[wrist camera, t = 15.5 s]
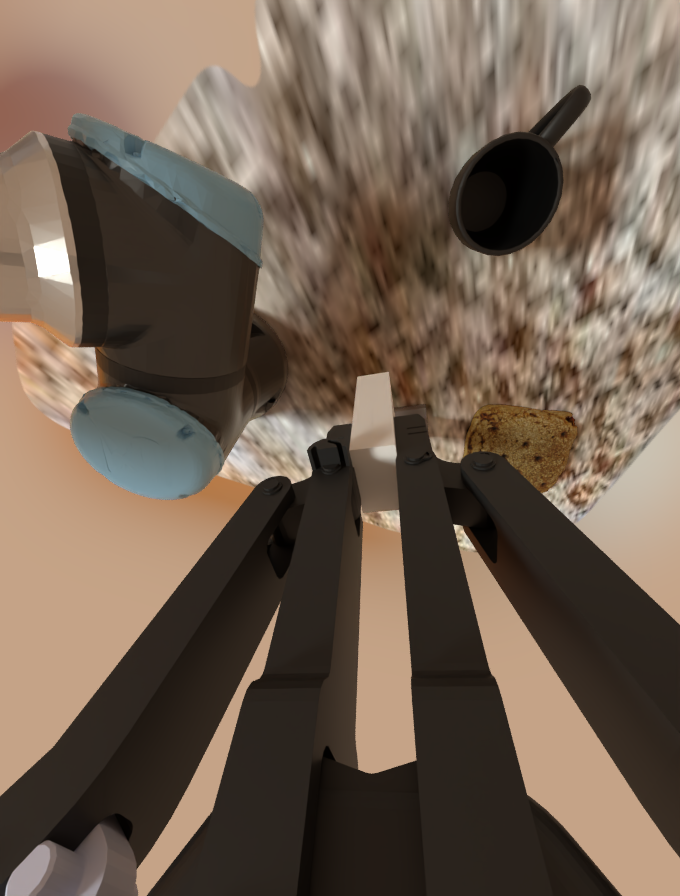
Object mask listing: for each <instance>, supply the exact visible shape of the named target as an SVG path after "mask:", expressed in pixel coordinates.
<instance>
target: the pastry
mask: <svg viewBox="0 0 680 896" xmlns="http://www.w3.org/2000/svg"><path fill="white" fill-rule="evenodd" d="M571 416H572V414H571V413H569V412H564V411H553V410H551V411H548V410H542V411H540V410H536V409H531V408H524V407H518V406H510V405H486V406H483V407H482V408H481V409H479V410H478V411H477V412H476V414H475V415H474V417H473V420H472V422H471V426H470V428H469V430H468V432H467V435H466V440H465V448H464V456H463V458H464V457H465V456H466V455H468V454H470V453H473V452H479V451H487V452H493V453H496V454H499V455H500V456H502V457H503V458H505V459H506V460H507V461H508V462H509V463H510V464H511V465H512V466H513V467H514V468H515V469H516V470H517V471H518V472H519V473H520V474H522V475H523V476H524V477H525V478H526V479H527V480H528V481H529V482H530V483H531V484H532V485H533V486H534V487H535V488H536V489H537V490H538V491H539V492H540V493H543V492H546V491H548V490H549V488H551V487H552V486H553V485H554V484H555V483H556V481H557V479H558V477H559V475H561V473H562V472H563V471H564V469H565V467H566V464H567V460H568V457H569V453H570V449H571V446H572V444H573V441H574V439H575V438H576V436H577V426H575V423H574V421H575V419H574V418H573V416H572V417H571ZM569 417H570V418H569Z"/></svg>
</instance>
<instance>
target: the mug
mask: <svg viewBox="0 0 680 896" xmlns="http://www.w3.org/2000/svg"><path fill="white" fill-rule="evenodd" d="M590 100H591V94H590V92H589V90H588V89H587V88H586V87H585V86H583V85H579V86H577V87H575V88H574V89H572V90H571V91H570V92H569V93H568V94H567V95H566V96H564V97H563V98H562V99H561V100H560V101H559V102H558V103H557V104H556V105H555V106H554V107H553V108H552V109H551V110H550V111H549V112H548V113H547V114H546V115H545V116H544V117H543V118H542V119H541V120H540V121H539V122H538V123H537V124H536V125H535V126H534V127H533V128H532V129H531V130H530V131H529V132H515V133H510V134H505V135H503V136H501V137H499V138H497V139H495V140H493V141H491V142H490V143H488V144H487V145H485V146H484V147H483V148H481V149H480V150H479V151H478V152H476V153H475V154H474V155H472V157H471V158H470V159H469V160H468V161H467V162H466V163H465V165H464V166H463V167H462V169H461V171H460V172H459V174H458V176H457V177H456V179H455V181H454V184H453V187H452V189H451V192H450V198H449V203H448V208H449V219H450V224H451V227H452V229H453V231H454V233H455V235H456V236H457V237H458V238H459V240H460V241H461V242H462V243H463V244H464V245H466V246H467V247H468V248H470V249H472V250H475V251H477V252H480V253H483V254H486V255H494V256H500V255H506V254H511V253H513V252H516V251H518V250H521V249H522V248H524V247H526V246H527V245H529V244H530V243H532V242H533V241H534V240H535V239H536V238H537V237H538V236H539V235H540V234H541V233H542V232H543V231H544V229H545V228H546V227H547V225H548V224H549V223H550V222H551V220H552V218H553V216H554V214H555V212H556V210H557V208H558V205H559V201H560V198H561V195H562V188H563V170H562V165H561V162H560V159H559V156H558V154H557V152H556V151H555V149H554V148H553V147H554V145H555V144H556V143H557V142H558V141H559V140H560V139H561V137H562V136H563V135H564V134H565V133H566V132H567V130H568V129H569V128H570V127H571V126H572V124H573V123H574V122H575V121H576V120H577V118H578V117H579V116H580V115H581V113H582V112H583V111H584V110H585V108H586V107H587V105H588V104H589V102H590Z"/></svg>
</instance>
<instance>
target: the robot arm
mask: <svg viewBox="0 0 680 896" xmlns="http://www.w3.org/2000/svg"><path fill="white" fill-rule="evenodd" d="M68 134H69V136H70V137H71V139H73V140H72V141H67V140H64V139H60V138H57V137H53V136H50V135H46V134H43V133H40V132H36V131H31V132H29V133H28V134H27V135H25V136H24V137H23V138H22V139H20V140H19V141H18V142H17V143H15V144H14V145H13V146H12V147H10V148H9V149H8V150H6V151H5V152H2V153H0V322H31V323H33V324H36V325H38V326H41V327H43V328H44V329H46V330H47V331H48V332H50V333H51V334H52V335H54V336H55V337H57V338H58V339H59V340H61V341H62V342H63V343H65V344H66V345H68V346H69V347H95V353H96V363H97V373H98V387H97V388H96V389H94V390H91V391H89V392H87V393H85V394H84V395H83V397H82V398H81V399H80V401H79V403H78V404H77V405H76V406H75V408H74V409H73V411H72V414H71V419H70V430H71V435H72V438H73V440H74V443H75V445H76V447H77V449H78V450H79V452H80V453H81V455H82V456H83V457H84V459H85V460H86V461H87V462H88V463H89V464H90V465H91V466H92V467H93V468H94V469H95V470H96V471H97V472H99V473H101V474H102V475H104V476H105V477H106V478H107V479H108V480H109V481H111V482H112V483H114V484H115V485H117V486H119V487H121V488H123V489H125V490H127V491H130V492H132V493H135V494H138V495H141V496H144V497H148V498H153V499H160V500H176V499H183V498H186V497H188V496H190V495H193V494H197V493H199V492H200V491H202V490H203V489H204V488H205V487H206V486H207V485H208V484H209V483H210V481H211V480H212V479H213V478H214V477H215V476H216V475H217V474H218V473H219V472H220V471H221V470H222V466H223V465H224V461H225V460H226V458H227V456H228V455H229V453H230V452H231V450H232V448H233V447H234V445H235V443H236V442H237V440H238V438H239V437H240V435H241V433H242V432H243V430H244V428H245V427H246V425H247V424H248V422H249V421H251V420H253V419H255V418H258V417H260V416H262V415H263V414H265V413H266V412H267V411H269V410H270V409H271V408H272V407H273V406H274V405H275V404H276V402H277V401H278V399H279V397H280V396H281V394H282V392H283V390H284V388H285V385H286V381H287V376H288V363H287V357H286V353H285V350H284V348H283V345H282V343H281V341H280V339H279V338H278V336H277V335H276V333H275V332H274V331H273V329H272V328H271V327H270V326H269V325H268V324H267V323H266V322H265V321H264V320H263V319H261V318H260V317H259V316H257V315H256V314H254V313H253V312H254V304H255V297H256V289H257V281H258V274H259V268H262V260H261V258H260V256H261V245H262V234H263V213H262V209H261V206H260V204H259V202H258V201H257V199H256V198H255V196H254V195H253V194H252V193H251V192H250V191H249V190H247V189H246V188H244V187H243V186H241V185H239V184H237V183H235V182H234V181H232V180H230V179H228V178H226V177H224V176H222V175H220V174H218V173H216V172H214V171H212V170H210V169H208V168H206V167H204V166H202V165H200V164H198V163H196V162H194V161H192V160H189V159H187V158H185V157H183V156H181V155H179V154H176V153H174V152H172V151H170V150H168V149H166V148H163V147H161V146H159V145H156V144H154V143H152V142H150V141H146V140H143V139H141V138H140V137H138V136H135V135H133V134H131V133H128V132H125V131H123V130H122V129H119V128H118V127H116V126H113V125H111V124H109V123H106V122H104V121H102V120H99V119H97V118H94V117H91V116H89V115H86V114H79V113H77V114H75V115H73V117H72V122H71V125H70V126H69V127H68ZM307 453H308V456H309V459H310V463H311V466H312V470H313V472H312V476H311V477H310V478H308V479H306V480H303V481H300V482H297V483H294V484H291V481H290V479H288V478H287V477H284V476H275V477H271V478H268V479H266V480H264V481H262V482H260V483H259V484H258V485H257V486H256V487H255V488H254V490H253V491H252V492H251V494H250V495H249V496H248V497H247V499H246V500H245V501H244V503H243V504H242V505H241V506H240V508H239V509H238V510H237V512H236V513H235V514H234V516H233V517H232V518H231V520H230V521H229V522H228V523H227V524H226V526H225V527H224V528H223V530H222V531H221V532H220V533H219V535H218V536H217V538H216V539H215V540H214V541H213V542H212V544H211V545H210V546H209V548H208V549H207V550H206V551H205V553H204V554H203V555H202V557H201V558H200V559H199V560H198V562H197V563H196V564H195V566H194V567H193V568H192V569H191V571H190V572H189V573H188V575H187V576H186V577H185V578H184V580H183V581H182V582H181V584H180V585H179V586H178V587H177V589H176V590H175V591H174V593H173V594H172V595H171V596H170V598H169V599H168V600H167V602H166V603H165V604H164V605H163V607H162V608H161V609H160V611H159V612H158V613H157V615H156V616H155V617H154V618H153V620H152V621H151V622H150V623H149V625H148V626H147V627H146V629H145V630H144V631H143V632H142V634H141V635H140V636H139V638H138V639H137V640H136V641H135V643H134V644H133V645H132V647H131V648H130V649H129V650H128V652H127V653H126V654H125V656H124V657H123V658H122V659H121V661H120V662H119V663H118V665H117V666H116V667H115V669H114V670H113V671H112V672H111V674H110V675H109V676H108V677H107V679H106V680H105V681H104V683H103V684H102V685H101V686H100V688H99V689H98V690H97V692H96V693H95V694H94V695H93V697H92V698H91V699H90V701H89V702H88V703H87V705H86V706H85V707H84V708H83V710H82V711H81V712H80V713H79V715H78V716H77V717H76V719H75V720H74V721H73V722H72V724H71V725H70V726H69V728H68V729H67V730H66V732H65V733H64V734H63V735H62V737H61V738H60V739H59V740H58V742H57V743H56V744H55V746H54V747H53V748H52V749H51V750H50V751H49V752H47V753H46V754H45V755H44V756H43V757H42V758H41V759H40V760H39V761H38V762H37V763H36V764H35V765H33V767H31V768H30V769H29V770H28V771H27V772H26V773H25V774H24V775H23V776H22V777H21V778H19V779H18V780H17V781H16V782H15V783H14V784H13V785H12V786H11V787H10V788H9V789H8V790H7V791H5V792H4V793H3V794H2V795H1V796H0V896H138V890H137V885H136V884H135V882H136V870H137V868H138V867H139V865H140V864H141V863H142V861H143V860H144V858H145V857H146V856H147V854H148V853H149V852H150V850H151V849H152V847H153V846H154V844H155V842H156V841H157V839H158V838H159V836H160V834H161V833H162V831H163V830H164V828H165V827H166V825H167V824H168V822H169V820H170V819H171V817H172V815H173V813H174V811H175V809H176V808H177V806H178V804H179V802H180V800H181V799H182V797H183V795H184V793H185V791H186V789H187V788H188V785H189V784H190V782H191V780H192V778H193V776H194V774H195V772H196V769H197V768H198V766H199V763H200V762H201V760H202V758H203V755H204V754H205V752H206V750H207V748H208V746H209V744H210V742H211V739H212V738H213V736H214V734H215V732H216V729H217V727H218V726H219V723H220V722H221V719H222V718H223V715H224V714H225V712H226V710H227V708H228V705H229V703H230V701H231V699H232V698H233V695H234V694H235V692H236V690H237V688H238V685H239V684H240V682H241V680H242V677H243V675H244V673H245V672H246V669H247V667H248V666H249V663H250V662H251V659H252V657H253V655H254V653H255V651H256V649H257V647H258V645H259V643H260V641H261V639H262V637H263V635H264V633H265V631H266V629H267V627H268V625H269V623H270V621H271V619H272V617H273V615H274V613H275V611H276V609H277V607H278V605H279V603H280V601H281V603H280V607H279V612H278V616H277V620H276V624H275V628H274V632H273V636H272V640H271V645H270V649H269V653H268V657H267V661H266V665H265V669H264V672H263V674H262V676H261V678H260V679H258V680H255V681H253V682H252V683H251V684H250V686H249V687H248V689H247V691H246V694H245V696H244V699H243V702H242V706H241V709H240V713H239V717H238V720H237V724H236V727H235V732H234V735H233V739H232V742H231V746H230V750H229V753H228V757H227V761H226V765H225V768H224V772H223V775H222V779H221V783H220V786H219V790H218V794H217V798H216V801H215V805H214V808H213V811H212V813H211V814H210V816H208V818H207V819H206V820H205V822H204V823H203V824H202V825H201V827H200V828H199V829H198V831H197V832H196V833H195V834H194V836H193V837H192V838H191V839H190V841H189V842H188V843H187V845H186V846H185V847H184V849H183V850H182V851H181V852H180V854H179V855H178V856H177V857H176V859H175V860H174V861H173V863H172V864H171V865H170V866H169V868H168V869H167V870H166V872H165V873H164V875H162V877H161V878H160V879H159V881H158V882H157V883H156V884H155V886H154V887H153V888H152V890H151V891H150V892H149V893H148V895H147V896H622V895H621V894H620V893H619V892H618V891H617V889H616V888H615V887H614V886H613V885H612V884H611V882H610V881H609V880H608V879H607V878H606V876H605V875H604V874H603V873H602V872H601V870H600V869H599V868H598V867H597V866H596V865H595V863H594V862H593V861H592V860H591V859H590V857H589V856H588V855H587V854H586V853H585V852H584V850H583V849H582V848H581V847H580V846H579V844H578V843H577V842H576V841H575V840H574V838H573V837H572V836H571V835H570V834H569V833H568V832H567V830H566V829H565V828H564V827H563V826H562V825H561V824H560V823H559V822H558V821H557V820H556V819H555V818H554V817H553V816H552V815H551V814H550V813H549V812H548V811H547V810H546V809H544V808H543V807H542V806H541V805H540V804H538V803H537V802H536V801H535V800H533V799H532V798H531V797H530V796H528V795H527V793H526V789H525V785H524V781H523V777H522V774H521V770H520V766H519V762H518V758H517V755H516V751H515V747H514V743H513V740H512V735H511V731H510V728H509V724H508V720H507V716H506V712H505V708H504V705H503V701H502V697H501V694H500V690H499V687H498V685H497V682H496V679H495V678H494V676H492V674H491V672H490V669H489V666H488V662H487V658H486V654H485V650H484V647H483V643H482V639H481V634H480V630H479V626H478V622H477V618H476V614H475V610H474V606H473V602H472V598H471V594H470V590H469V586H468V582H467V578H466V574H465V570H464V566H463V562H462V558H461V554H460V550H459V546H458V542H457V538H456V534H455V530H454V526H453V524H455V525H462V526H463V529H464V532H465V533H466V535H467V536H468V538H469V539H470V541H471V542H472V544H473V545H474V547H475V549H476V550H477V552H478V553H479V555H480V556H481V558H482V559H483V561H484V562H485V564H486V565H487V567H488V568H489V570H490V572H491V573H492V575H493V576H494V578H495V579H496V581H497V582H498V584H499V586H500V587H501V589H502V590H503V592H504V593H505V595H506V596H507V598H508V599H509V601H510V602H511V604H512V605H513V607H514V609H515V610H516V612H517V613H518V615H519V616H520V618H521V619H522V621H523V622H524V624H525V625H526V627H527V629H528V630H529V632H530V633H531V635H532V636H533V638H534V639H535V641H536V642H537V644H538V646H539V647H540V649H541V650H542V652H543V653H544V655H545V656H546V658H547V660H548V661H549V663H550V664H551V666H552V667H553V669H554V670H555V672H556V673H557V675H558V676H559V678H560V680H561V681H562V682H563V684H564V686H565V687H566V689H567V690H568V692H569V693H570V695H571V696H572V698H573V700H574V701H575V703H576V704H577V706H578V707H579V709H580V710H581V712H582V713H583V715H584V716H585V718H586V720H587V721H588V723H589V724H590V726H591V727H592V729H593V730H594V732H595V733H596V735H597V737H598V738H599V739H600V741H601V743H602V744H603V746H604V747H605V749H606V750H607V752H608V754H609V755H610V757H611V758H612V760H613V761H614V763H615V764H616V766H617V767H618V769H619V770H620V772H621V774H622V775H623V776H624V778H625V780H626V781H627V783H628V784H629V786H630V787H631V789H632V791H633V792H634V794H635V795H636V797H637V798H638V800H639V801H640V803H641V804H642V806H643V807H644V809H645V810H646V812H647V813H648V814H649V816H650V817H651V819H652V820H653V821H654V823H655V824H656V826H657V827H658V829H659V830H660V831H661V833H662V834H663V836H664V837H665V839H666V840H667V842H668V843H669V844H670V845H671V847H672V848H673V850H674V851H675V852H676V853H677V855H678V856H679V857H680V625H679V624H678V623H677V622H676V621H675V620H674V619H673V618H672V617H671V616H670V615H669V614H668V613H667V612H666V611H665V610H664V609H663V608H661V607H660V606H659V605H658V604H657V603H656V602H655V601H654V600H653V599H652V598H651V597H650V596H649V595H648V594H647V593H646V592H645V591H644V590H642V589H641V588H640V587H639V586H638V585H637V584H636V583H635V582H634V581H633V580H632V579H631V578H630V577H629V576H628V575H627V574H626V573H625V572H624V571H623V570H621V569H620V568H619V567H618V566H617V565H616V564H615V563H614V562H613V561H612V560H611V559H610V558H609V557H608V556H607V555H606V554H605V553H604V552H603V551H601V550H600V549H599V548H598V547H597V546H596V545H595V544H594V543H593V542H592V541H591V540H590V539H589V538H588V537H587V536H586V535H585V534H583V532H581V531H580V530H579V529H578V528H577V527H576V526H575V525H574V524H573V523H572V522H571V521H570V520H569V519H568V518H567V517H566V516H565V515H564V514H563V513H562V512H560V511H559V510H558V509H557V508H556V507H555V506H554V505H553V504H552V503H551V502H550V501H549V500H548V499H547V498H546V497H545V496H544V495H543V494H542V493H540V492H539V491H538V490H537V489H536V488H535V487H534V486H533V485H532V484H531V483H530V482H529V481H528V480H527V479H526V478H525V477H524V476H523V475H522V474H520V473H519V472H518V471H517V470H516V469H515V468H514V467H513V466H512V465H511V464H510V463H509V462H508V461H507V460H506V459H505V458H503V457H502V456H500V455H499V454H496V453H493V452H487V451H479V452H473V453H470V454H468V455H466V456H465V457H464V458H462V460H461V463H452V462H446V461H443V460H441V459H439V458H437V457H436V455H435V454H434V452H433V451H432V447H431V443H430V439H429V435H428V431H427V427H426V423H425V419H424V418H423V417H422V416H420V415H419V414H411V415H404V416H396V417H395V414H394V407H393V399H392V392H391V384H390V377H389V372H384V373H378V374H371V375H365V376H359V377H357V385H356V394H355V403H354V412H353V421H352V424H345V425H337V426H333V427H332V429H331V430H330V431H329V432H328V434H327V438H326V439H322V440H320V441H317V442H315V443H314V444H312V445H311V446H310V447H309V448H308V450H307ZM361 507H362V511H363V513H368V512H379V511H389V510H399V513H400V526H401V539H402V551H403V565H404V577H405V590H406V602H407V616H408V629H409V641H410V654H411V668H412V677H411V689H412V705H413V718H414V732H415V745H416V758H417V760H416V761H413V762H410V763H407V764H404V765H401V766H398V767H394V768H391V769H388V770H385V771H382V772H379V773H375V774H369V773H365V772H363V771H360V770H358V760H357V752H356V741H355V722H356V696H357V668H358V641H359V614H360V587H361V560H362V531H363V521H362V517H361Z"/></svg>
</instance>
